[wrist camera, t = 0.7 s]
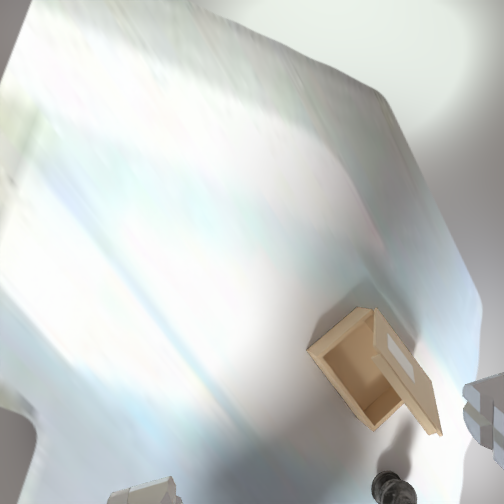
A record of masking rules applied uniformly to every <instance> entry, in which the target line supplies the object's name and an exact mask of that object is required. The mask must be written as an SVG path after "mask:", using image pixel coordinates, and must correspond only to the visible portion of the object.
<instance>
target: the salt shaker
mask: <svg viewBox="0 0 504 504" xmlns="http://www.w3.org/2000/svg"><path fill="white" fill-rule="evenodd" d="M371 490H372V495H373V498H374V499H375V501H376V502H377V503H379V504H417V495H416V492H415V490H414V488H413V487H412V486H411V485H410V484H409V483H408V482H405V481H401V479H400V478H399V476H398V475H397V474H395V473H394V472H391V471H384V472H381V473H379V474H378V475H377V476H376V477H375V479H374V480H373V483H372V488H371Z"/></svg>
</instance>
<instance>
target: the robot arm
mask: <svg viewBox="0 0 504 504" xmlns="http://www.w3.org/2000/svg"><path fill="white" fill-rule="evenodd" d="M463 397H464V398H465V399H466V400H467V401H468V402H467V403H466V405H465V407H464V408H463V416H464V421H465V423H466V426H467V428H468V430H469V432H470V433H471V435H472V436H473V437H474V438H475V440H476V441H477V442H478V443H479V444H480V445H482V446H484V447H486V448H488V449H491V450H492V452H493V458H494V460H495V461H496V462H497V463H498V464H499V465H500V466H501V468H503V470H504V372H503V373H500V374H498V375H497V374H496V375H493V376H490V377H487V378H483V379H480V380H477V381H474V382H471V383H468V384H465V385H464V387H463ZM107 504H183V502H182V500H181V498H180V497H178V496H176V484H175V482H174V480H173V478H172V476H168V477H165V478H161V479H158V480H154V481H151V482H147V483H143V484H140V485H136V486H133V487H130V488H127V489H123V490H120V491H116V492H113V493H111V495H110V497H109V499H108V501H107Z"/></svg>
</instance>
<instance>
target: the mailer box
mask: <svg viewBox="0 0 504 504" xmlns="http://www.w3.org/2000/svg"><path fill="white" fill-rule="evenodd" d="M373 333H374V311H373V310H372V309H368V308H362V307H356V308H355V309H354V310H353V311H352V312H350V313H349V314H348V315H347V316H346V317H345V318H343V319H342V320H341V321H340V322H339V323H337V324H336V325H335V326H334V327H333V328H332V329H330V330H329V331H328V332H327V333H326V334H325V335H323V336H322V337H321V338H320V339H319V340H317V341H316V342H315V343H314V344H313V345H312V346H310V347H309V348H308V349H307V350H306V351H307V352H308V353H309V355H310V356H311V357H312V359H313V360H314V361H315V363H316V364H317V365H318V367H319V368H320V369H321V370H322V372H323V373H324V374H325V376H326V377H327V378H328V380H329V381H330V382H331V384H332V385H333V386H334V388H335V389H336V390H337V392H338V393H339V394H340V396H341V397H342V398H343V400H344V401H345V402H346V404H347V405H348V406H349V408H350V409H351V410H352V412H353V413H354V414H355V416H356V417H357V418H358V419H359V420H360V421H361V422H362V423H363V424H365V425H366V426H367V427H368V428H369V429H371V430H372V431H373V432H374V431H375V430H376V429H377V428H378V427H379V426H380V425H381V424H383V423H384V422H385V421H386V420H387V419H388V418H389V417H390V416H391V415H392V414H393V413H394V412H395V411H396V410H397V409H398V408H400V407H401V406H402V405H403V404H404V402H403V400H402V399H401V398H400V396H399V395H398V394H397V392H396V391H395V390H394V388H393V387H392V386H391V384H390V383H389V382H388V380H387V379H386V378H385V376H384V375H383V374H382V372H381V371H380V370H379V368H378V367H377V366H376V364H375V363H374V362H373V360H372V359H371V357H373V356H375V355H377V354H378V353H377V352H376V350H375V349H374V348H373Z"/></svg>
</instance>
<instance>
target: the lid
mask: <svg viewBox="0 0 504 504" xmlns="http://www.w3.org/2000/svg"><path fill="white" fill-rule="evenodd" d="M373 348H374V349H375V350H376V352H377V353H378V354H377V355H375V356H373V357H371V359H372V360H373V362H374V363H375V364H376V366H377V367H378V368H379V370H380V371H381V372H382V374H383V375H384V376H385V378H386V379H387V380H388V382H389V383H390V384H391V386H392V387H393V388H394V390H395V391H396V392H397V394H398V395H399V396H400V398H401V399H402V400H403V402H404V403H405V405H406V406H407V407H408V409H409V410H410V411H411V413H412V414H413V415H414V417H415V418H416V419H417V421H418V422H419V423H420V425H421V426H422V427H423V429H424V430H425V431H426V433H427V434H428V435H431V434H434V433H437V434H438V435H439V436H443V434H442V430H441V425H440V420H439V415H438V410H437V405H436V401H435V396H434V391H433V386H432V381H431V380H430V379H429V377H428V376H427V375H426V373H425V372H424V371H423V369H422V368H421V367H420V365H419V364H418V362H417V361H416V360H415V358H414V357H413V356H412V354H411V353H410V352H409V350H408V349H407V348H406V346H405V345H404V344H403V342H402V341H401V340H400V338H399V337H398V335H397V334H396V333H395V331H394V330H393V329H392V327H391V326H390V325H389V323H388V322H387V321H386V319H385V318H384V317H383V315H382V314H381V312H380V311H379V310H378V308H375V309H374V333H373Z"/></svg>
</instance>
